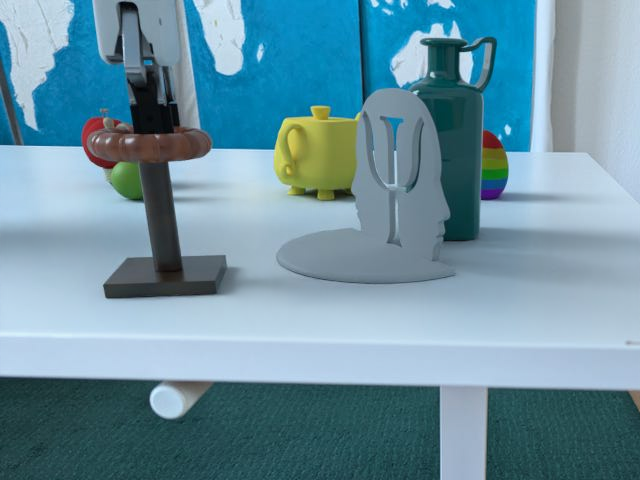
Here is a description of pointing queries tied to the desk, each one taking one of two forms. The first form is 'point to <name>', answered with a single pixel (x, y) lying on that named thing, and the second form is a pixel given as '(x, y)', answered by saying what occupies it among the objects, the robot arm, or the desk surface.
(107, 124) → the snail figurine
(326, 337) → the desk surface
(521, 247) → the desk surface
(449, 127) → the pitcher
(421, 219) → the ornament
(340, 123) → the teapot
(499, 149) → the decorative egg
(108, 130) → the ring
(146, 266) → the post
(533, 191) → the desk surface
